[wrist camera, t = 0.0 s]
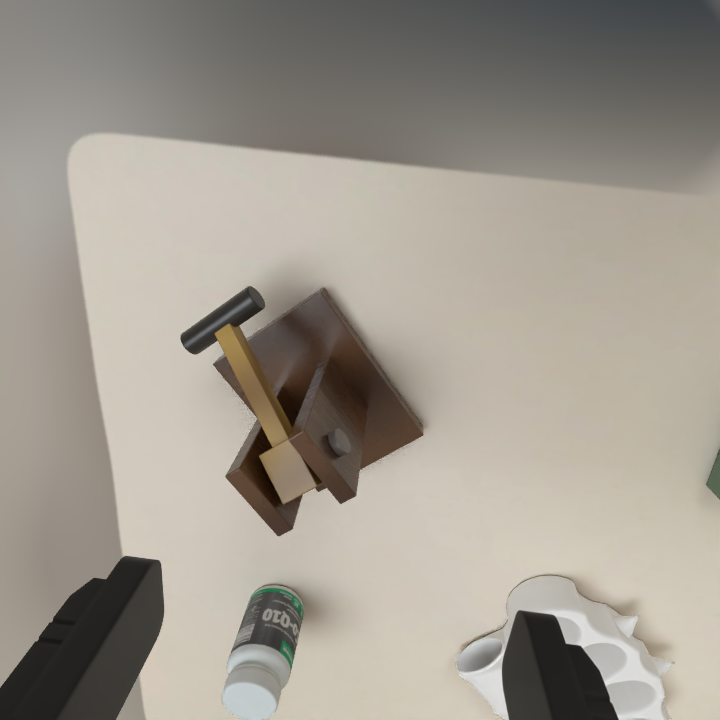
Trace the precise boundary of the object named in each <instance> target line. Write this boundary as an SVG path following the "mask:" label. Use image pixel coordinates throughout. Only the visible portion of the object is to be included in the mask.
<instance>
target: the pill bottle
mask: <svg viewBox="0 0 720 720" xmlns="http://www.w3.org/2000/svg"><path fill="white" fill-rule="evenodd" d="M303 613H304V606H303V602H302V600H301V599H300V597H299V596H298V595H297V594H296V593H295V592H294V591H292V590H290V589H289V588H287V587H284V586H278V585H270V586H265V587H262V588H260V589H258V590H257V591H255V592H254V594H253V595H252V596H251V598H250V601H249V603H248V606H247V609H246V612H245V614H244V617H243V620H242V623H241V626H240V629H239V631H238V634H237V637H236V640H235V643H234V645H233V648H232V651H231V654H230V656H229V659H228V663H227V673H228V677H227V679H226V683H225V686H224V689H223V692H222V703H223V705H224V707H225V708H226V709H227V710H228V712H230V713H231V714H232V715H234V716H236V717H238V718H241V719H244V720H265V719H268V718H270V717H271V716H272V715H273V714H274V713H275V711H276V709H277V707H278V702H279V698H280V694H281V690H282V689H283V688H284V687H285V685H286V684H287V682H288V680H289V677H290V673H291V668H292V664H293V659H294V655H295V650H296V646H297V641H298V637H299V631H300V627H301V623H302V619H303Z"/></svg>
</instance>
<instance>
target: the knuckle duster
mask: <svg viewBox="0 0 720 720" xmlns="http://www.w3.org/2000/svg"><path fill="white" fill-rule="evenodd" d="M506 609H507V615H508V621H507V623H506V624H505V626H504V628H502V629H500V630H498V631H496V632H494V633H491V634H489V635H487V636H485V637H483V638H482V639H479V640H477V641H475V642H473V643H471V644H470V645H468V646H467V647H466V648H465V649H464V650H463V651H462V652H461V653H460V654H459V655H458V657H457V659H456V668H457V670H458V671H459V676H460V677H461V678H462V679H465V680H467V681H468V682H469V683H470V684H471V685H472V686H473V687H474V688H475V689H476V690H477V691H478V692H479V693H480V694H481V695H482V696H483V698H484V699H485V700H486V701H487V702H488V703H489V704H490V705H491V706H492V707H493V711H494V713H495V714H496V715H498V716H501V717H502V718H503V719H504V720H509V717H508V712H507V707H506V702H505V697H504V692H503V685H502V662H503V657H504V653H505V650H506V646H507V643H508V639H509V636H510V633H511V629H512V626H513V622H514V619H515V616H516V613H517V612H518V611H519V610H522V611H530V612H537V613H545V614H552V615H554V616H555V617H556V618H557V620H558V622H559V625H560V628H561V630H562V633H563V636H564V639H565V642H566V644H572V645H579V646H581V647H582V648H583V649H584V651H585V652H586V653H587V655H588V656H589V657H590V659H591V660H592V661H593V662H594V664H595V665H596V666H597V668H598V669H599V670H600V673H601V675H602V678H603V681H604V683H605V686H606V688H607V691H608V693H609V696H610V702H611V703H612V704H613V706H614V709H615V711H616V714H617V717H618V719H619V720H672V719H671V717H670V715H669V713H668V711H667V709H666V706H665V704H664V702H663V698H664V697H665V692H664V688H663V685H662V681H661V678H660V677H661V676H662V675H663V674H664V673H665V672H666V671H667V670H668V669H669V668H670V667H671V666H672V665H673V664H674V663H675V662H671V661H668V660H664V659H660V658H657V657H653V656H650V655H649V653H648V651H647V649H646V647H645V645H644V643H643V642H642V641H641V640H638V639H636V638H634V637H633V635H632V633H633V630H634V627H635V625H636V622H637V620H638V617H639V615H635V616H622V615H620V614H619V613H617V612H616V611H614V610H613V609H612V608H610V607H609V606H607V605H606V604H603V603H597V602H593V601H590V600H588V599H586V598H584V597H583V596H581V595H580V594H579V593H578V592H577V590H576V587H575V585H574V583H573V581H571V580H569V579H566V578H563V577H559V576H539V577H534V578H531V579H528V580H526V581H524V582H522V583H521V584H519V585H518V586H517V587H516V588H515V589H514V590H513V591H512V592H511V594H510V596H509V598H508V600H507V607H506Z"/></svg>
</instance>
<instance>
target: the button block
mask: <svg viewBox="0 0 720 720" xmlns="http://www.w3.org/2000/svg"><path fill="white" fill-rule="evenodd" d="M707 486H708V487H709V489H710V490H711V491H712V492H713V493H714V494H715V495H716V496H717V497H718V498H719V499H720V451H719V453H718V456H717V459H716V461H715V464H714V466H713V469H712V472H711V474H710V477H709V479H708V482H707Z"/></svg>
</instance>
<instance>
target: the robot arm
mask: <svg viewBox="0 0 720 720" xmlns="http://www.w3.org/2000/svg"><path fill="white" fill-rule="evenodd" d="M163 617H164V598H163V584H162V569H161V563H160V561H159V560H153V559H145V558H138V557H131V556H125V557H123V558H122V559H121V560H120V561H119V562H118V564H117V565H116V566H115V568H114V569H113V571H112V572H111V574H110V575H109V576H108V578H107V579H99V578H93V579H92V580H90V581H89V582H88V583H86V584H85V585H84V586H83V587H81V588H80V589H78V590H77V591H76V592H75V593H73V594H72V595H71V596H70V597H69V598H68V599H67V601H66V602H65V603H64V605H63V606H62V607H61V609H60V610H59V611H58V613H57V614H56V615H55V616H54V618H53V621H52V623H49V624H48V626H47V627H46V628H45V630H44V631H43V632H42V634H41V635H40V636H39V640H38V641H37V642H35V643H34V644H33V645H32V647H31V648H30V649H29V651H28V652H27V653H26V655H25V656H24V657H23V659H22V660H21V661H20V663H19V664H18V665H17V667H16V668H15V669H14V670H13V672H12V673H11V674H10V676H9V677H8V678H7V680H6V681H5V682H4V684H3V685H2V686H1V688H0V720H116V718H117V716H118V714H119V712H120V710H121V708H122V707H123V705H124V703H125V700H126V698H127V697H128V695H129V693H130V691H131V689H132V687H133V685H134V683H135V681H136V679H137V677H138V675H139V673H140V671H141V669H142V667H143V665H144V663H145V661H146V659H147V657H148V655H149V654H150V652H151V650H152V648H153V646H154V644H155V642H156V640H157V637H158V635H159V632H160V629H161V626H162V622H163ZM502 685H503V692H504V697H505V702H506V707H507V712H508V717H509V720H619V719H618V717H617V714H616V711H615V709H614V706H613V704H612V703H611V702H610V696H609V693H608V691H607V688H606V686H605V683H604V681H603V678H602V675H601V673H600V670H599V669H598V668H597V666H596V665H595V664H594V662H593V661H592V660H591V659H590V657H589V656H588V655H587V653H586V652H585V651H584V649H583V648H582V647H581V646H579V645H572V644H566V642H565V639H564V636H563V633H562V630H561V628H560V625H559V622H558V620H557V618H556V617H555V616H554V615H552V614H545V613H537V612H530V611H522V610H519V611H518V612H517V613H516V616H515V619H514V622H513V626H512V629H511V633H510V636H509V639H508V643H507V646H506V650H505V653H504V657H503V662H502Z"/></svg>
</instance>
